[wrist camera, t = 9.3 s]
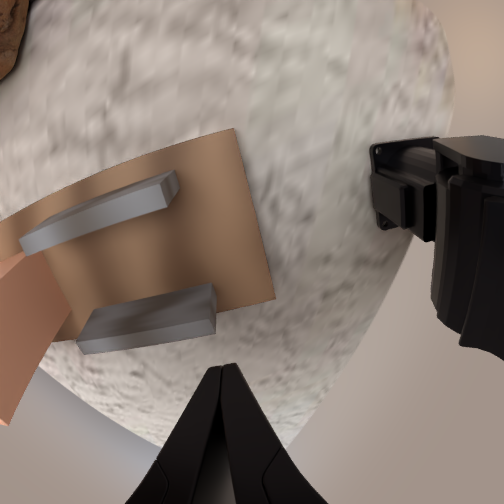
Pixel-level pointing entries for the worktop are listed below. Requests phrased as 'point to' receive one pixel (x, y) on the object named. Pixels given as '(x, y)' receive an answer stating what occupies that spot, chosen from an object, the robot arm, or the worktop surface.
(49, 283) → the block
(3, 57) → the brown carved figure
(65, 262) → the chute
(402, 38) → the worktop surface
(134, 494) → the robot arm
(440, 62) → the worktop surface
